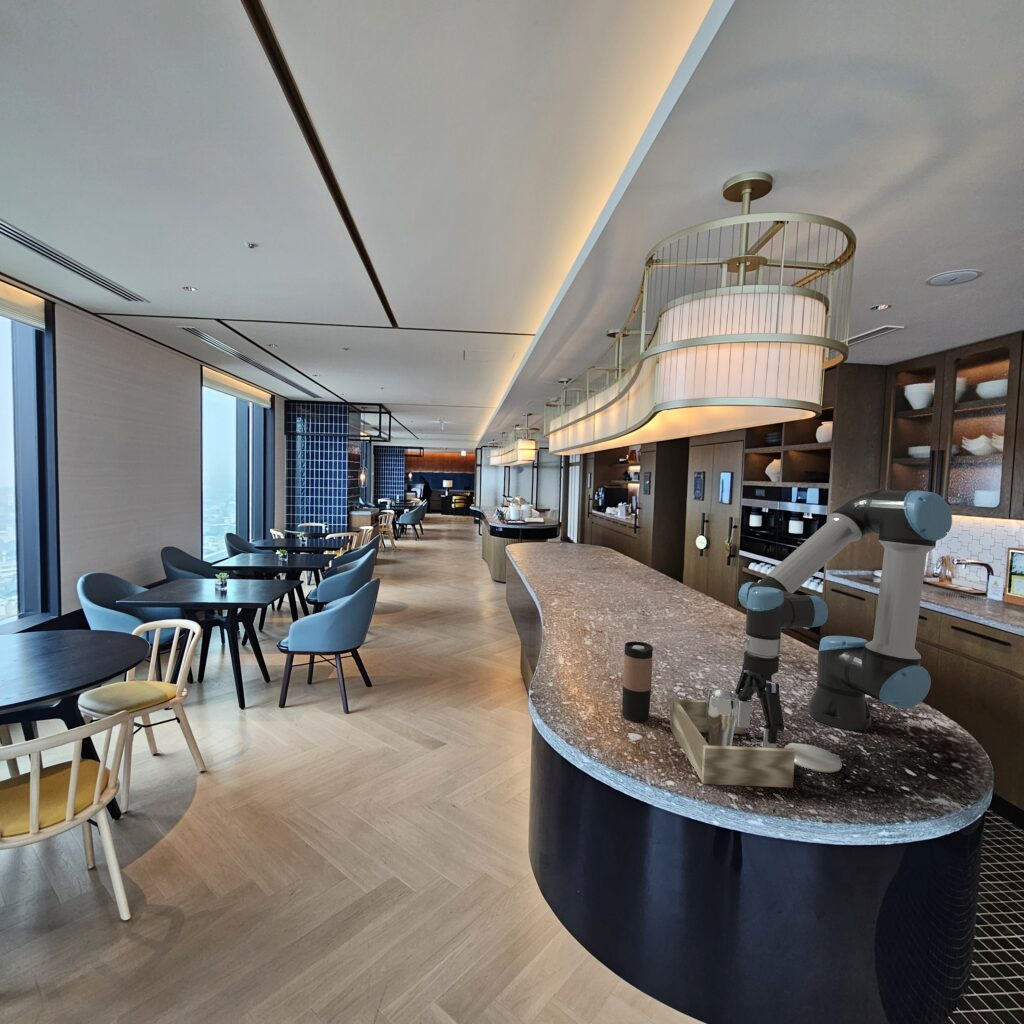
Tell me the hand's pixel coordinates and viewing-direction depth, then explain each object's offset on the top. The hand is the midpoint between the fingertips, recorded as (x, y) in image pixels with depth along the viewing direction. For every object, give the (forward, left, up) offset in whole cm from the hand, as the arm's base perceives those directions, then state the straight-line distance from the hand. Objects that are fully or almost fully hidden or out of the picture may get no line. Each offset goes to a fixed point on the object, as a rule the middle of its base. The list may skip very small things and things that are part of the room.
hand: (755, 740), depth 126 cm
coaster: (-14, 0, -4) cm, 14 cm away
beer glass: (+8, 0, -4) cm, 9 cm away
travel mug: (+24, -19, -4) cm, 31 cm away
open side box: (+6, 0, -4) cm, 7 cm away
